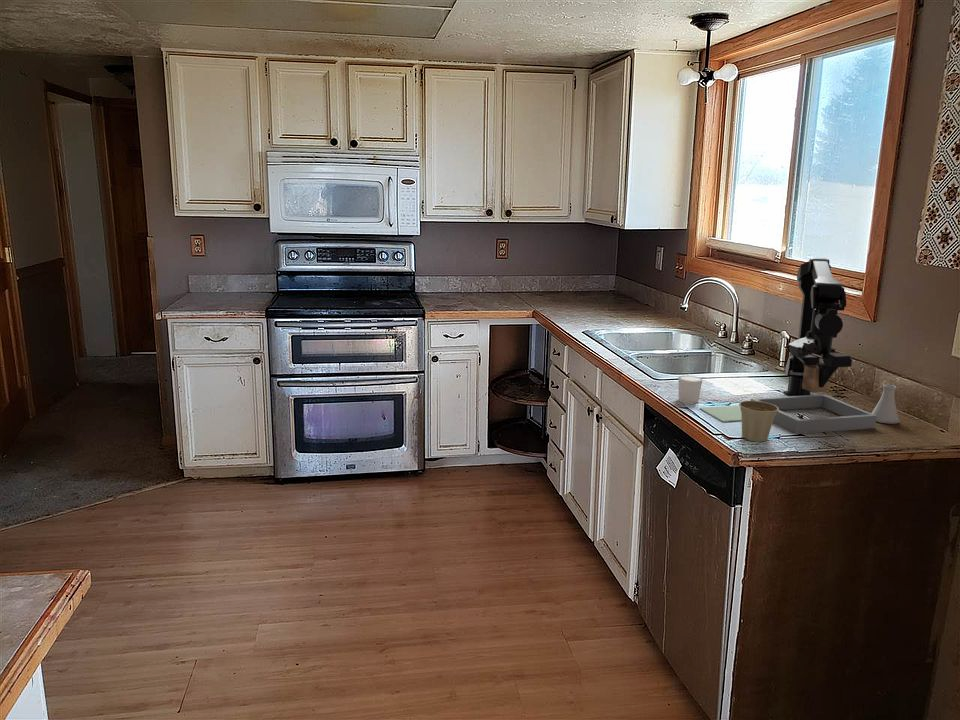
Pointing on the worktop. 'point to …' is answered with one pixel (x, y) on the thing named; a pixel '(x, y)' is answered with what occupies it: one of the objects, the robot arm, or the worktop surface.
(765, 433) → the flower pot
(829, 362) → the robot arm
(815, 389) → the walnut block
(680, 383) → the shot glass
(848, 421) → the grey rimmed tray
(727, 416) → the mat
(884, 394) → the flask
